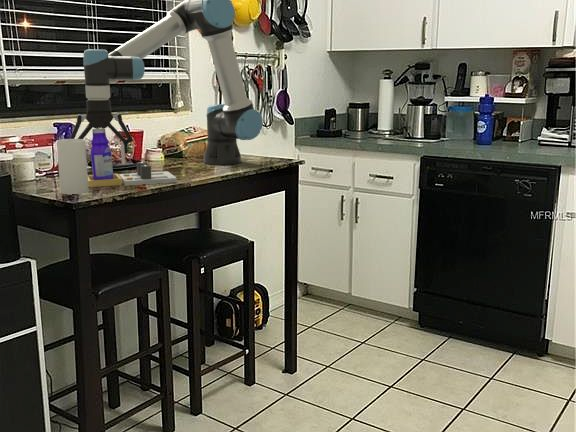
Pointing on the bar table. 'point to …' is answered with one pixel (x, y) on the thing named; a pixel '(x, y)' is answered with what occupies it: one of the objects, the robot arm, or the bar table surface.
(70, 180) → the light grey upright block
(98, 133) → the bottle
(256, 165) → the bar table surface
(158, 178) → the breaker board
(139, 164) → the block
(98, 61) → the robot arm
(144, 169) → the breaker
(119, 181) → the yellow square tray
